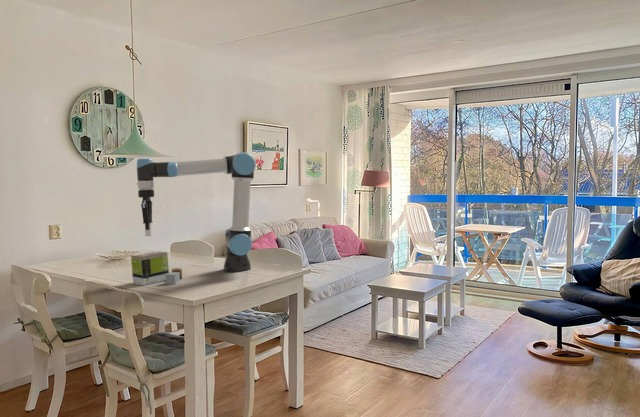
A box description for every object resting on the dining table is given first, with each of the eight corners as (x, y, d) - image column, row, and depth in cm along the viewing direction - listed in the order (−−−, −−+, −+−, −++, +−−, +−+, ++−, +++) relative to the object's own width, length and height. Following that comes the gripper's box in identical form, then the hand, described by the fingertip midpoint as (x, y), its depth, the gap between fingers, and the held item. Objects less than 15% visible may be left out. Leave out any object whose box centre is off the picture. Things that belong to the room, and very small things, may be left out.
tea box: (158, 277, 257) (157, 250, 256) (169, 280, 251) (168, 251, 250) (132, 283, 246) (130, 254, 245) (143, 285, 239) (141, 256, 238)
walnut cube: (182, 277, 258) (181, 267, 257) (182, 279, 253) (181, 269, 252) (172, 278, 256) (171, 268, 256) (172, 279, 251) (171, 270, 251)
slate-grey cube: (179, 282, 246) (179, 272, 245) (175, 284, 241) (174, 274, 240) (170, 282, 246) (170, 272, 246) (165, 284, 242) (165, 274, 241)
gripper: (141, 189, 251) (144, 234, 253) (134, 190, 238) (137, 238, 240) (156, 188, 252) (159, 234, 253) (150, 189, 239) (153, 237, 240)
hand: (148, 235), depth 247 cm, fingers closed
